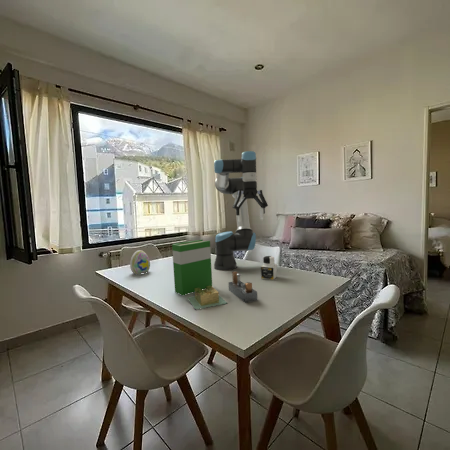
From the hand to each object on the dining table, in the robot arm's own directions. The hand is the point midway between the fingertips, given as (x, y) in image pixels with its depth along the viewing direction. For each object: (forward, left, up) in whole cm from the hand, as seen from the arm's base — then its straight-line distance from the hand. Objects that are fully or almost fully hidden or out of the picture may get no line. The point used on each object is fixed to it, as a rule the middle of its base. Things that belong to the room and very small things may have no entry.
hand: (250, 220), depth 138 cm
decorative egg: (-47, -57, -33) cm, 81 cm away
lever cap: (+18, -33, -32) cm, 49 cm away
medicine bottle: (+2, +9, -33) cm, 34 cm away
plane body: (+19, -16, -33) cm, 41 cm away
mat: (+18, -33, -33) cm, 49 cm away
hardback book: (0, -34, -33) cm, 47 cm away
